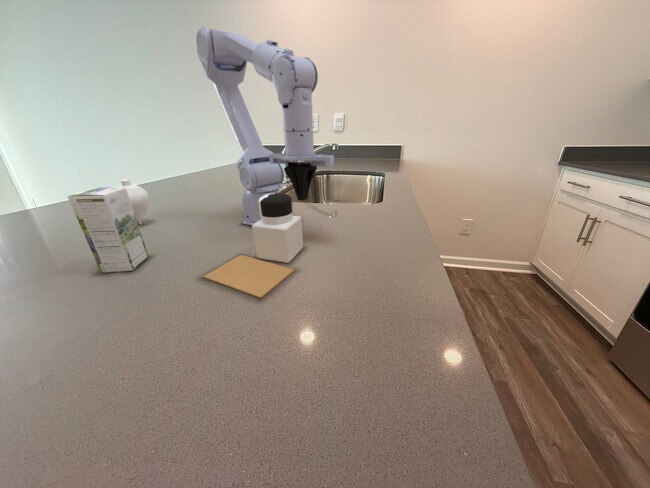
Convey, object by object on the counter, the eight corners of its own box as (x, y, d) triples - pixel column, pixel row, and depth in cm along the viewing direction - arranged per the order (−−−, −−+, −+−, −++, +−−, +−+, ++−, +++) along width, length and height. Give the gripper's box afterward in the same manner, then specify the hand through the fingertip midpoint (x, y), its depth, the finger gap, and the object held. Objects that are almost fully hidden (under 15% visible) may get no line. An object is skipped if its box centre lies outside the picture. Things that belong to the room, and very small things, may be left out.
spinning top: (163, 219, 73) (150, 176, 68) (143, 230, 66) (127, 183, 61) (138, 219, 74) (123, 176, 68) (116, 229, 67) (97, 183, 62)
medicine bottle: (303, 247, 54) (300, 191, 49) (288, 263, 48) (282, 201, 43) (274, 243, 57) (267, 189, 51) (256, 258, 51) (246, 199, 45)
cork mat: (203, 277, 45) (203, 276, 45) (241, 255, 52) (241, 254, 52) (261, 298, 39) (260, 297, 39) (294, 270, 46) (294, 269, 46)
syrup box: (120, 258, 52) (90, 187, 46) (150, 256, 52) (125, 185, 46) (100, 273, 47) (64, 195, 41) (134, 271, 47) (103, 193, 41)
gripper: (256, 132, 50) (264, 200, 56) (321, 131, 44) (323, 208, 50) (278, 130, 56) (284, 192, 62) (338, 130, 49) (338, 199, 55)
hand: (302, 199), depth 56 cm, fingers closed
